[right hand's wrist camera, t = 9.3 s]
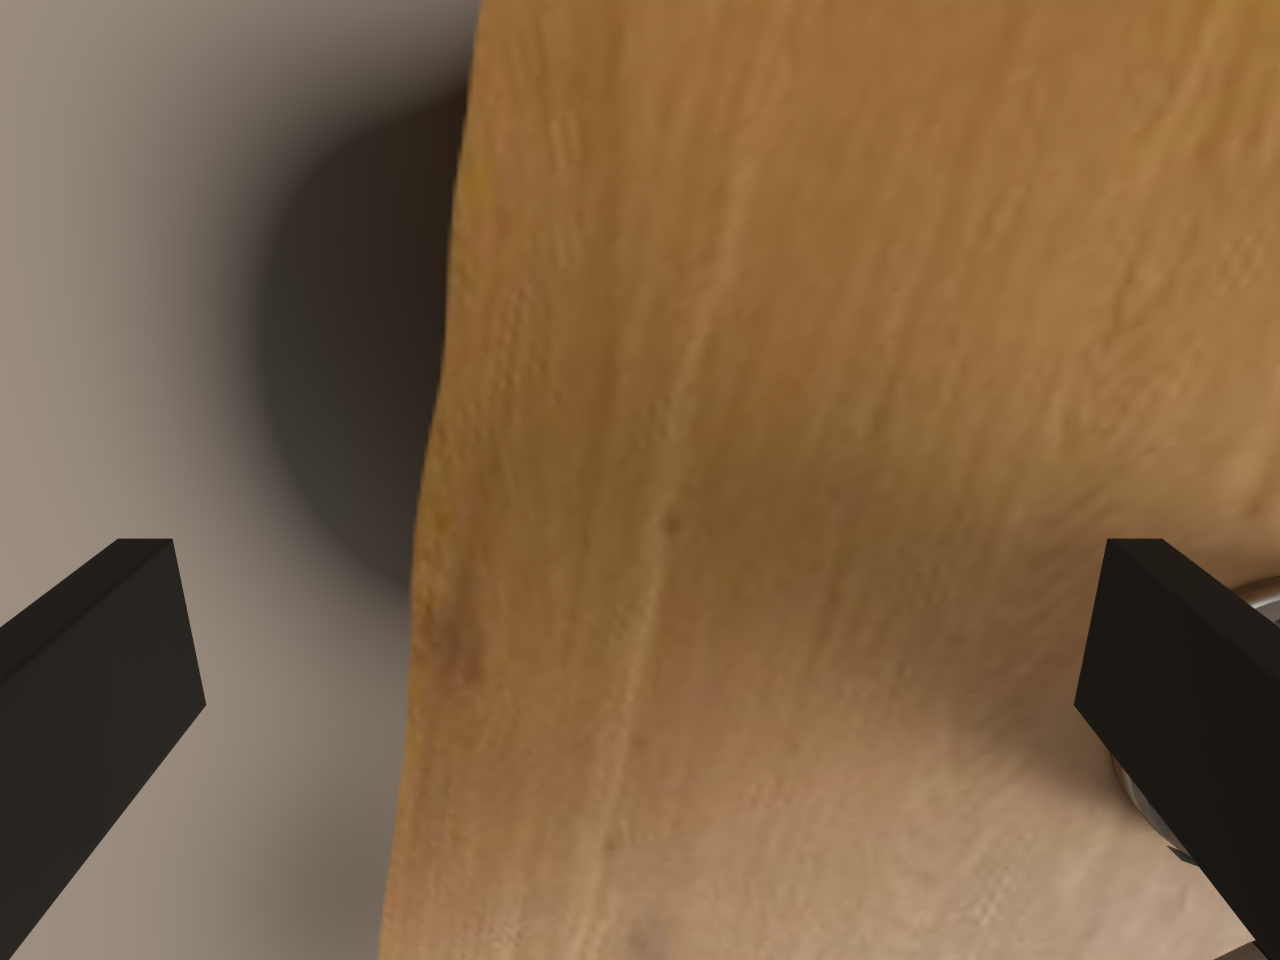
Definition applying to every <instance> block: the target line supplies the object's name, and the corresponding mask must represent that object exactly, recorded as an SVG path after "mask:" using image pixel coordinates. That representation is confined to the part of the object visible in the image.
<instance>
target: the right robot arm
mask: <svg viewBox="0 0 1280 960" xmlns="http://www.w3.org/2000/svg"><path fill="white" fill-rule="evenodd" d="M205 706H206V702H205V697H204V692H203V687H202V682H201V677H200V672H199V667H198V662H197V657H196V652H195V647H194V642H193V637H192V633H191V628H190V623H189V618H188V613H187V608H186V603H185V598H184V593H183V588H182V583H181V578H180V573H179V568H178V563H177V558H176V553H175V549H174V544H173V539H117V540H116V541H114V542H113V543H112V544H110V545H109V546H108V547H106V548H105V549H104V550H102V551H101V552H100V553H98V554H97V555H96V556H94V557H93V558H92V559H90V560H89V561H88V562H86V563H85V564H84V565H82V566H81V567H80V568H78V569H77V570H76V571H74V572H73V573H72V574H70V575H69V576H68V577H66V578H65V579H64V580H63V581H61V582H60V583H59V584H57V585H56V586H55V587H53V588H52V589H51V590H49V591H48V592H47V593H45V594H44V595H43V596H41V597H40V598H39V599H37V600H36V601H35V602H33V603H32V604H31V605H29V606H28V607H27V608H25V609H24V610H23V611H21V612H20V613H19V614H17V615H16V616H15V617H14V618H12V619H11V620H10V621H8V622H7V623H6V624H4V625H3V626H2V627H0V960H9V959H10V958H11V957H12V955H13V954H14V953H15V951H16V950H17V949H18V947H19V946H20V945H21V944H22V942H23V941H24V940H25V938H26V937H27V936H28V934H29V933H30V932H31V931H32V929H33V928H34V927H35V925H36V924H37V923H38V922H39V920H40V919H41V918H42V916H43V915H44V914H45V912H46V911H47V910H48V909H49V907H50V906H51V905H52V903H53V902H54V901H55V900H56V898H57V897H58V896H59V894H60V893H61V892H62V891H63V889H64V888H65V887H66V885H67V884H68V883H69V882H70V880H71V879H72V878H73V876H74V875H75V874H76V873H77V871H78V870H79V869H80V867H81V866H82V865H83V863H84V862H85V861H86V860H87V858H88V857H89V856H90V854H91V853H92V852H93V851H94V849H95V848H96V847H97V845H98V844H99V843H100V842H101V840H102V839H103V838H104V836H105V835H106V834H107V832H108V831H109V830H110V829H111V827H112V826H113V825H114V823H115V822H116V821H117V820H118V818H119V817H120V816H121V814H122V813H123V812H124V810H125V809H126V808H127V807H128V805H129V804H130V803H131V801H132V800H133V799H134V798H135V796H136V795H137V794H138V792H139V791H140V790H141V789H142V787H143V786H144V785H145V783H146V782H147V781H148V780H149V778H150V777H151V776H152V774H153V773H154V772H155V770H156V769H157V768H158V767H159V765H160V764H161V763H162V761H163V760H164V759H165V758H166V756H167V755H168V754H169V752H170V751H171V750H172V748H173V747H174V746H175V745H176V743H177V742H178V741H179V739H180V738H181V737H182V736H183V734H184V733H185V732H186V730H187V729H188V728H189V727H190V725H191V724H192V723H193V721H194V720H195V719H196V718H197V716H198V715H199V714H200V712H201V711H202V710H203V708H204V707H205ZM1074 706H1075V707H1076V708H1077V710H1078V711H1079V712H1080V714H1081V715H1082V716H1083V718H1084V719H1085V720H1086V721H1087V723H1088V724H1089V725H1090V727H1091V728H1092V729H1093V730H1094V732H1095V733H1096V734H1097V736H1098V737H1099V738H1100V739H1101V741H1102V742H1103V743H1104V745H1105V746H1106V747H1107V749H1108V750H1109V751H1110V752H1111V754H1112V760H1113V763H1114V767H1115V771H1116V774H1117V776H1118V778H1119V781H1120V783H1121V785H1122V786H1123V788H1124V790H1125V792H1126V793H1127V795H1128V796H1129V797H1130V799H1131V800H1132V801H1133V803H1134V804H1135V805H1136V807H1137V808H1138V809H1139V811H1140V812H1141V813H1142V815H1143V816H1144V817H1145V819H1146V820H1147V821H1148V822H1149V824H1150V825H1151V826H1152V827H1153V828H1154V829H1155V830H1156V831H1157V832H1158V833H1159V834H1160V835H1161V836H1163V837H1164V838H1165V839H1166V840H1168V841H1169V842H1170V843H1172V844H1173V845H1174V846H1175V847H1177V848H1178V849H1179V850H1178V849H1175V848H1172V847H1169V846H1167V845H1166V846H1167V847H1168V848H1169V849H1170V850H1171V851H1172V852H1174V853H1175V854H1176V855H1177V856H1178V857H1179V858H1180V859H1181V860H1182V861H1184V862H1187V863H1190V864H1193V865H1196V866H1199V867H1200V869H1201V870H1202V871H1203V873H1204V874H1205V875H1206V876H1207V878H1208V879H1209V880H1210V882H1211V883H1212V884H1213V885H1214V887H1215V888H1216V889H1217V891H1218V892H1219V893H1220V895H1221V896H1222V897H1223V898H1224V900H1225V901H1226V902H1227V904H1228V905H1229V906H1230V907H1231V909H1232V910H1233V911H1234V913H1235V914H1236V915H1237V916H1238V918H1239V919H1240V920H1241V922H1242V923H1243V924H1244V926H1245V927H1246V928H1247V929H1248V931H1249V932H1250V933H1251V935H1252V936H1253V937H1254V938H1255V941H1252V942H1249V943H1247V944H1245V945H1243V946H1241V947H1239V948H1237V949H1235V950H1233V951H1231V952H1229V953H1227V954H1224V955H1222V956H1220V957H1218V958H1216V959H1214V960H1280V576H1278V577H1273V578H1269V579H1265V580H1261V581H1257V582H1254V583H1251V584H1248V585H1244V586H1241V587H1239V588H1236V589H1234V590H1232V591H1231V590H1229V589H1228V588H1227V587H1225V586H1224V585H1223V584H1221V583H1220V582H1219V581H1217V580H1216V579H1215V578H1214V577H1212V576H1211V575H1210V574H1208V573H1207V572H1206V571H1204V570H1203V569H1202V568H1200V567H1199V566H1198V565H1196V564H1195V563H1194V562H1192V561H1191V560H1190V559H1188V558H1187V557H1186V556H1184V555H1183V554H1182V553H1180V552H1179V551H1178V550H1176V549H1175V548H1174V547H1172V546H1171V545H1170V544H1168V543H1167V542H1166V541H1164V540H1163V539H1107V544H1106V549H1105V553H1104V558H1103V563H1102V568H1101V573H1100V578H1099V583H1098V588H1097V593H1096V598H1095V603H1094V608H1093V613H1092V618H1091V623H1090V628H1089V632H1088V637H1087V642H1086V647H1085V652H1084V657H1083V662H1082V667H1081V672H1080V677H1079V682H1078V687H1077V692H1076V697H1075V702H1074Z"/></svg>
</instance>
